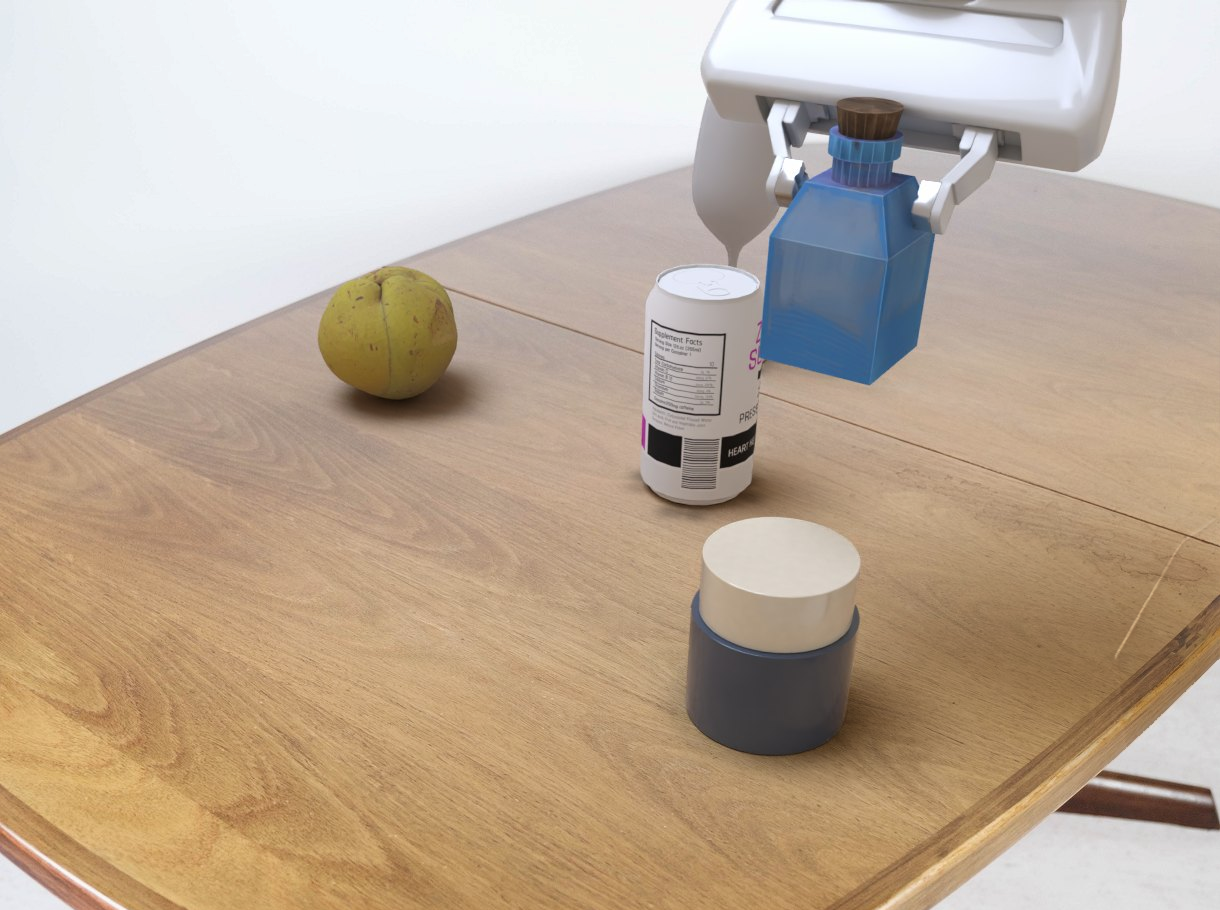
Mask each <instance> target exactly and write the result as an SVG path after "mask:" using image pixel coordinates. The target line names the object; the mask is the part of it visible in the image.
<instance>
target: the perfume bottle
mask: <svg viewBox="0 0 1220 910" xmlns="http://www.w3.org/2000/svg"><path fill="white" fill-rule="evenodd" d="M836 107H837V119H838V126H835V127H833V128H831V129H830V134H829V136H828V143H827V144H828V145H827V155H829V156H830V157H832V161H831V162H832V163H831V167H830V168H828V169H826V170H824V171H822V172H820V173H818V174H816V175H815V176H813V177H811V178H809V180H807V181H805V183H804V184H803V186H802V187H801V189H800V190H799V192H798V193H797V195H796V196H795V198H794V199H793V201H792V202H791V204H790V205H789V207H788V208H786V210H785V211H784V213H783V215H782V216H781V217H780V219H779V220H778V222H777V224H776V225H775V227H774V228H773V230H772V232H771V233H770V234H769V236H768V247H767V260H766V269H765V282H764V292H763V296H764V303H763V314H762V325H761V336H760V347H759V358H762V359H766V360H767V361H770V362H774V363H779V364H782V365H786V366H791V367H793V368H799V369H802V370H806V371H809V372H814V373H818V374H822V375H826V376H830V377H835V378H837V379H842V380H846V381H850V382H854V383H858V384H861V385H865V386H870V387H871V385H872V384H873V383H875V382H876V381H877V380H878V379H880V378H881V377H882V376H883V375H884V374H886V373H887V372H888V371H889V370H891V369H892V368H893V367H894V366H895V365H896V364H897V363H898V362H900V361H901V360H902V359H903V358H904V357H906V356H907V355H908V354H909V353H911V352H912V351H913V350H914V349H915V348H917V346H918V342H919V337H920V329H921V323H922V318H923V311H924V306H925V305H924V304H925V299H926V293H927V287H928V281H929V275H930V269H931V263H932V256H933V251H934V244H935V239H936V234H933V233H928V232H923V231H918V230H914V229H913V227H912V226H913V222H912V221H911V210H912V206H913V203H914V201H915V200H917V199H918V190H919V187H920V184H919V181H918V179H917V177H916V176H915V175H910V174H904V173H899V172H894V171H893V167H894V162H895V161H898V160H899V158H901V154H902V148H903V147H902V142H903V133H902V132H901V131H899V130H897V127H898V124H899V121H900V118H901V115H902V113H903V110H904V105H902V104H901V103H899V102H896V101H893V100H889V99H884V98H875V97H851V98H844V99H841V100H838V101H837V102H836ZM766 360H765V361H766Z"/></svg>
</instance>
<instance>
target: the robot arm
mask: <svg viewBox="0 0 1220 910" xmlns="http://www.w3.org/2000/svg"><path fill="white" fill-rule="evenodd" d="M1127 3H1128V0H730V1H729V3H728V4H727V6H726V7H725V10H724V12H723V13H722V15H721V17H720V19H719V21H718V22H717V24H716V26H715V29H714V30H713V32H712V35H711V37H710V39H709V41H708V43H707V45H706V47H705V50H704V52H703V54H702V57H701V61H700V66H699V67H700V70H699V71H700V76H701V79H702V83H703V86H704V89H705V91H706V95H707V97H708V96H709V98H710V100H711V102H712V104H713V106H714V108H715V110H716V111H717V113H718V115H719V116H720V117H721V118H723V119H725V120H729V121H735V122H742V123H749V124H756V125H762V126H768V127H769V133H770V138H771V143H772V148H773V154H774V157H775V161H774V164H773V166H772V169H771V172H770V174H769V177H768V180H767V182H766V189H765V192H766V196H767V198H768V201H769V203H770V205H774V206H780V208H786V209H787V208H788V207H789V205H790V204H791V202H792V201H793V199H794V198H795V196H796V195H797V193H798V192H799V190H800V189H801V187H802V186H803V184H804V183H805V181H807V180H809V179H810V177H809V174H808V173H807V171H806V169H807V168H806V164H805V162H804V160H799V159H795V158H793V156H792V155H793V154H792V151H791V147H792V148H797V149H800V148H802V147H803V145H804V142H805V140H806V137H807V134H809V133H810V134H816V135H824V136H828V137H829V134H830V129H831V128H833V127H835V126H838V119H837V107H836V102H837V101H838V100H841V99H844V98H851V97H875V98H884V99H889V100H893V101H896V102H899V103H901V104H902V105H904V110H903V113H902V115H901V118H900V121H899V124H898V127H897V130H899V131H901V132H902V133H903V142H902V148H909V149H915V150H922V151H927V152H928V151H929V152H935V153H941V154H949V155H954V156H960V160H959V161H958V163H956V164H955V165H954V166H953V167H952V168H951V169H950V170H949V171H947V173H946V174H945V175H944V176H943V177H942V178H941V179H940V180H939V181H931V180H923V179H922V180H921V183H920V184H919V186H920V187H919V190H918V199H917V200H915V201H914V203H913V206H912V210H911V221H912V222H913V226H912V227H913V229H914V230H918V231H923V232H928V233H933V234H935V235H939V236H943V235H945V234H946V232H947V228H948V226H949V223H950V220H951V218H952V215H953V212H954V210H955V207H956V206H959V205H960V204H962V203H963V202H964V201H965V200H966V199H967V198H968V197H970V196H971V195H972V194H973V193H974V192H975V191H977V190H978V189H979V188H980V187H981V186H983V185H984V184H985V183H986V182H987V181H988V180H990V178H991V175H992V173H993V171H994V168H995V165H996V162H1000V163H1008V164H1015V165H1022V166H1027V167H1033V168H1034V167H1035V168H1042V169H1048V170H1053V171H1059V172H1064V173H1065V172H1066V173H1078V172H1080V171H1081V170H1083V169H1084V168H1087V166H1089V165H1090V164H1091V163H1093V162H1095V160H1097V159H1098V158H1099V157H1101V154H1102V152H1103V149H1104V147H1105V144H1106V142H1107V138H1108V134H1109V131H1110V129H1111V125H1112V121H1113V117H1114V113H1115V108H1116V104H1117V99H1118V91H1119V85H1120V80H1121V79H1120V78H1121V77H1120V76H1121V65H1122V51H1123V50H1122V49H1123V20H1124V18H1125V13H1126V8H1127Z"/></svg>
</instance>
